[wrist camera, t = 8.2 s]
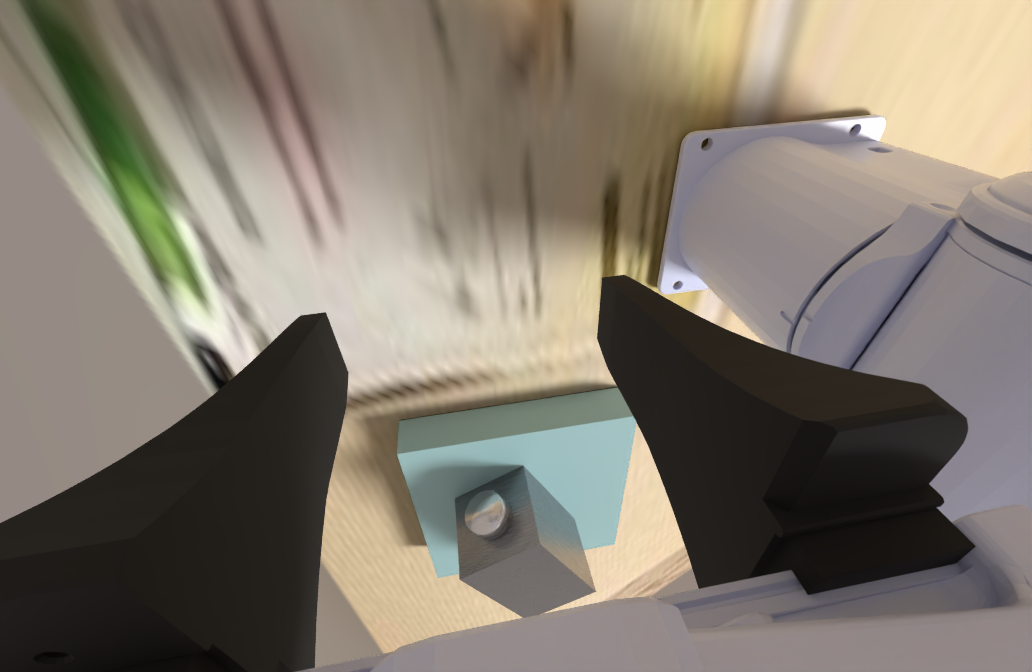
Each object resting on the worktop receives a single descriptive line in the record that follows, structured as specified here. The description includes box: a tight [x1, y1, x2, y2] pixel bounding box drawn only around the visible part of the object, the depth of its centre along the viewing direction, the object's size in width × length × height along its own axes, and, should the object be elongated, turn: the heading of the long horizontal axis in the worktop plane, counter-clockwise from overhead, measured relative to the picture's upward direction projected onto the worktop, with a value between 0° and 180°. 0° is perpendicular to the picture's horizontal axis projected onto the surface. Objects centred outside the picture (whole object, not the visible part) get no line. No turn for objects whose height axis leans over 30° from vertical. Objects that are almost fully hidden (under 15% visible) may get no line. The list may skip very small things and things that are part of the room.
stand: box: [397, 387, 636, 578], centre depth 31 cm, size 14×15×2 cm
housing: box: [455, 465, 596, 618], centre depth 28 cm, size 9×5×5 cm, turn 29°
